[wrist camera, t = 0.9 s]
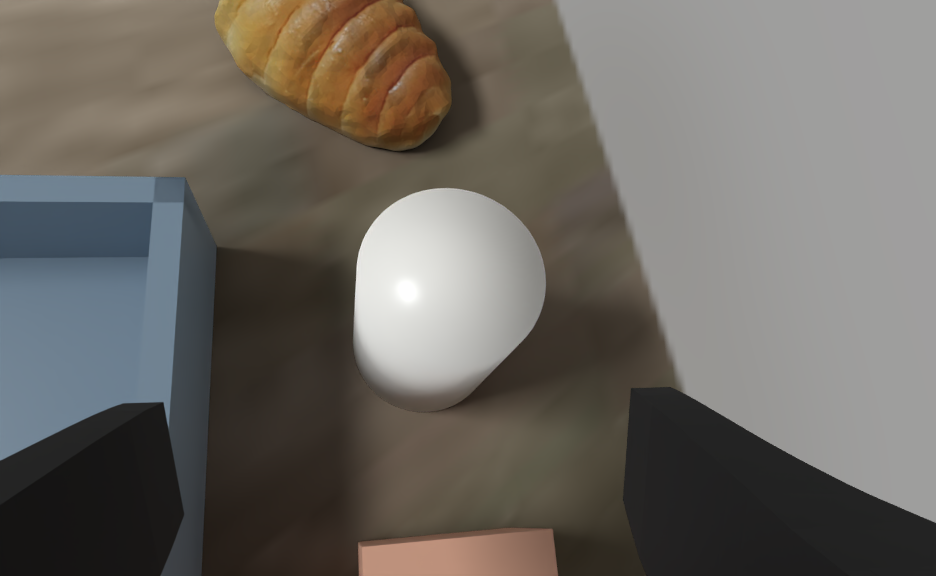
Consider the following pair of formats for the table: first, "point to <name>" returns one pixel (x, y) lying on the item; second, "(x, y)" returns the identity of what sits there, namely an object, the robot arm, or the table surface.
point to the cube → (462, 554)
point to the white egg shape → (442, 296)
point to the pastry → (343, 65)
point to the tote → (108, 317)
